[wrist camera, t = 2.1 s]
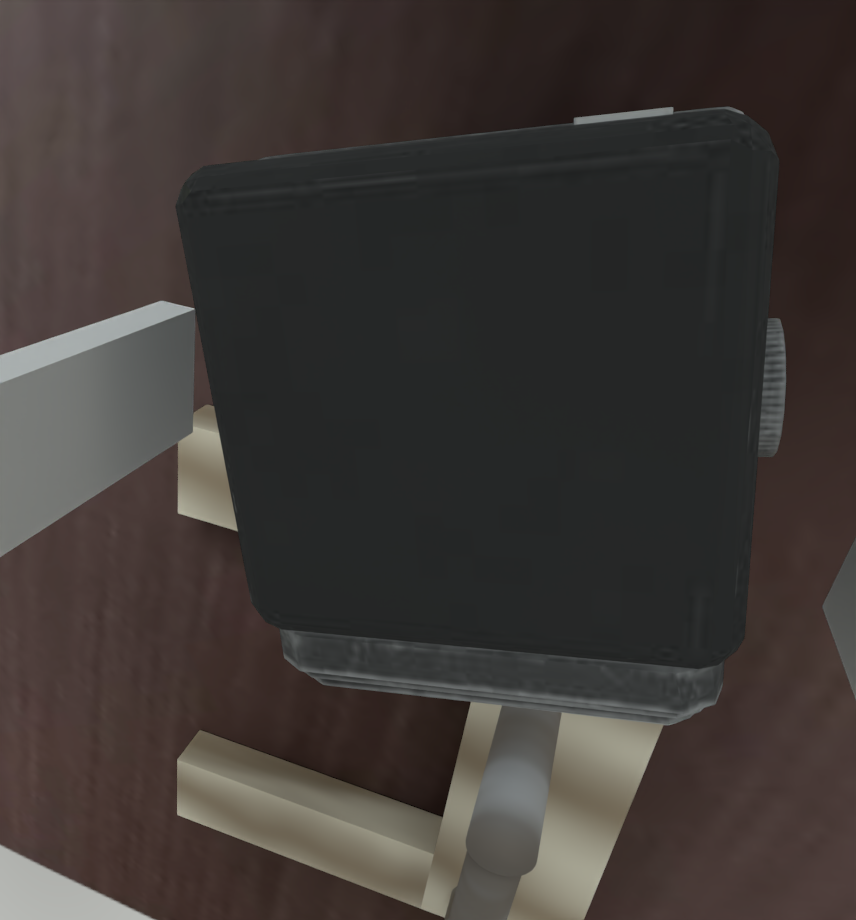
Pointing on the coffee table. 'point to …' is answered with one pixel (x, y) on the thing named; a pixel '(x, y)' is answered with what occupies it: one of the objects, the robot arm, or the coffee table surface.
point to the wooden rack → (469, 800)
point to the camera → (499, 403)
